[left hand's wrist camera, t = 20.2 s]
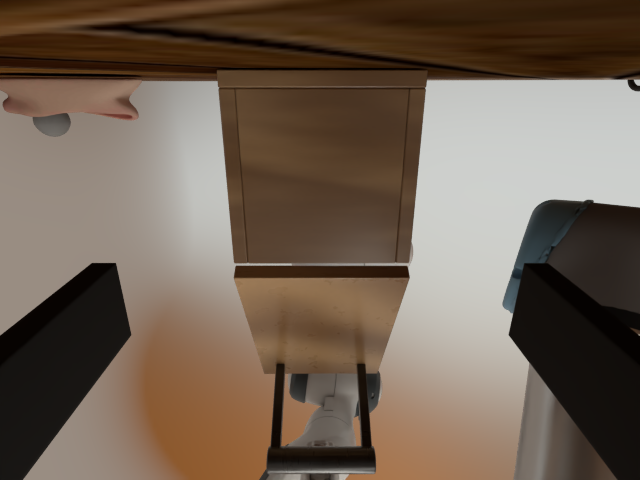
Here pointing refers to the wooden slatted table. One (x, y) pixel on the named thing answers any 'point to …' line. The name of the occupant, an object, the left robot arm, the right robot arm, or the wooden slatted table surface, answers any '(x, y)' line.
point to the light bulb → (53, 124)
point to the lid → (321, 343)
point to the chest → (321, 163)
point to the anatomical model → (70, 96)
